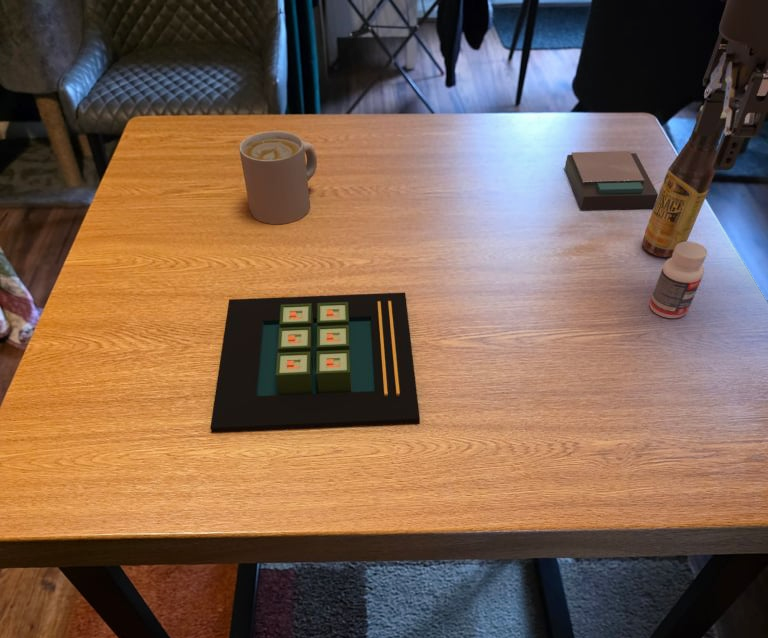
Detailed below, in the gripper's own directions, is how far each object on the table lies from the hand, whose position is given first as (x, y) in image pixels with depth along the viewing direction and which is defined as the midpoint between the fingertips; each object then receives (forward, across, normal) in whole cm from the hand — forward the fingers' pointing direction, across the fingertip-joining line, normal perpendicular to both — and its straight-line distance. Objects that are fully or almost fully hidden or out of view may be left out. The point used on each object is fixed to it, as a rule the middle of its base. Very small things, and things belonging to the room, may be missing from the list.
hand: (712, 150), depth 77 cm
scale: (+20, +30, +3) cm, 37 cm away
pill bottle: (+20, -2, -1) cm, 21 cm away
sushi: (+20, -15, +47) cm, 53 cm away
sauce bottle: (+20, +12, -3) cm, 24 cm away
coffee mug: (+20, +23, +56) cm, 64 cm away
